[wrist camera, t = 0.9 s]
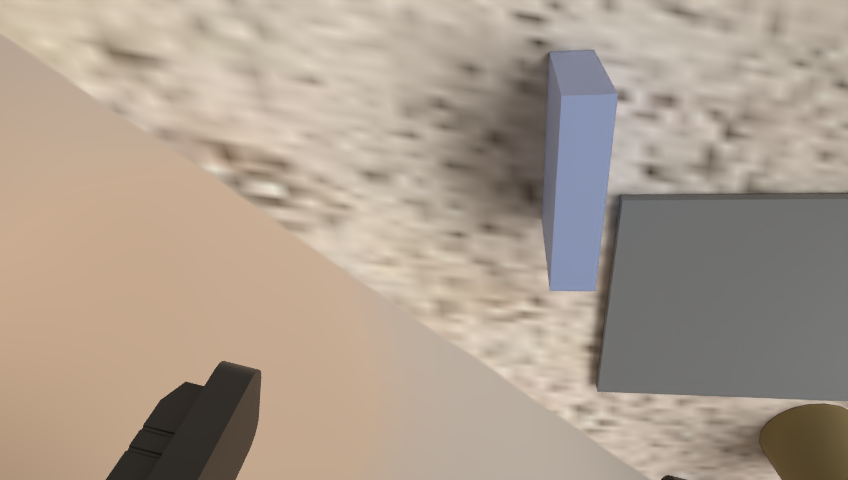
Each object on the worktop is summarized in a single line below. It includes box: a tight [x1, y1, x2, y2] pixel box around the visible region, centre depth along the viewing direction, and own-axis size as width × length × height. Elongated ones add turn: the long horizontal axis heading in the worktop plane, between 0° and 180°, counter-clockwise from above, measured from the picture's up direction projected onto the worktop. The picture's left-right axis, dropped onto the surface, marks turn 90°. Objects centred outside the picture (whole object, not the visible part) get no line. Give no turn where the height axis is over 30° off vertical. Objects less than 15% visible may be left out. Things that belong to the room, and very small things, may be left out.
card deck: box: [542, 50, 618, 291], centre depth 26 cm, size 2×9×6 cm, turn 4°
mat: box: [596, 193, 848, 401], centre depth 32 cm, size 16×14×1 cm
